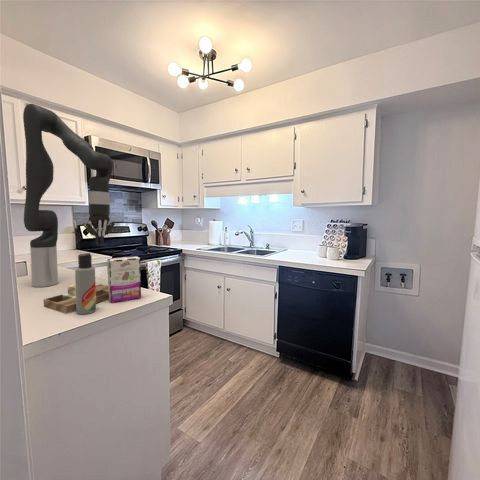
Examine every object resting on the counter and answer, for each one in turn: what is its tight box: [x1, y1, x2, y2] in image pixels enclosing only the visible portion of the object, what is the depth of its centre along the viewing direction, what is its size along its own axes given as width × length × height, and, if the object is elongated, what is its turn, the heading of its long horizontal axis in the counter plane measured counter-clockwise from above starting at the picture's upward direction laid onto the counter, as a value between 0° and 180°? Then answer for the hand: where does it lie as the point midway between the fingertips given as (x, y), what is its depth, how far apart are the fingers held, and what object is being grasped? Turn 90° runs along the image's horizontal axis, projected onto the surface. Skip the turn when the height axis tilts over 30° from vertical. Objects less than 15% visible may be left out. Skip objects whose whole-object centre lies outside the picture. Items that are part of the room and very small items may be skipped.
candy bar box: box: [107, 256, 142, 304], centre depth 99 cm, size 11×5×16 cm, turn 126°
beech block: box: [66, 283, 76, 296], centre depth 97 cm, size 5×5×3 cm
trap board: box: [43, 283, 109, 314], centre depth 97 cm, size 13×22×2 cm, turn 155°
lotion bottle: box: [74, 252, 97, 315], centre depth 86 cm, size 6×6×20 cm
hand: (99, 245), depth 106 cm, fingers closed
